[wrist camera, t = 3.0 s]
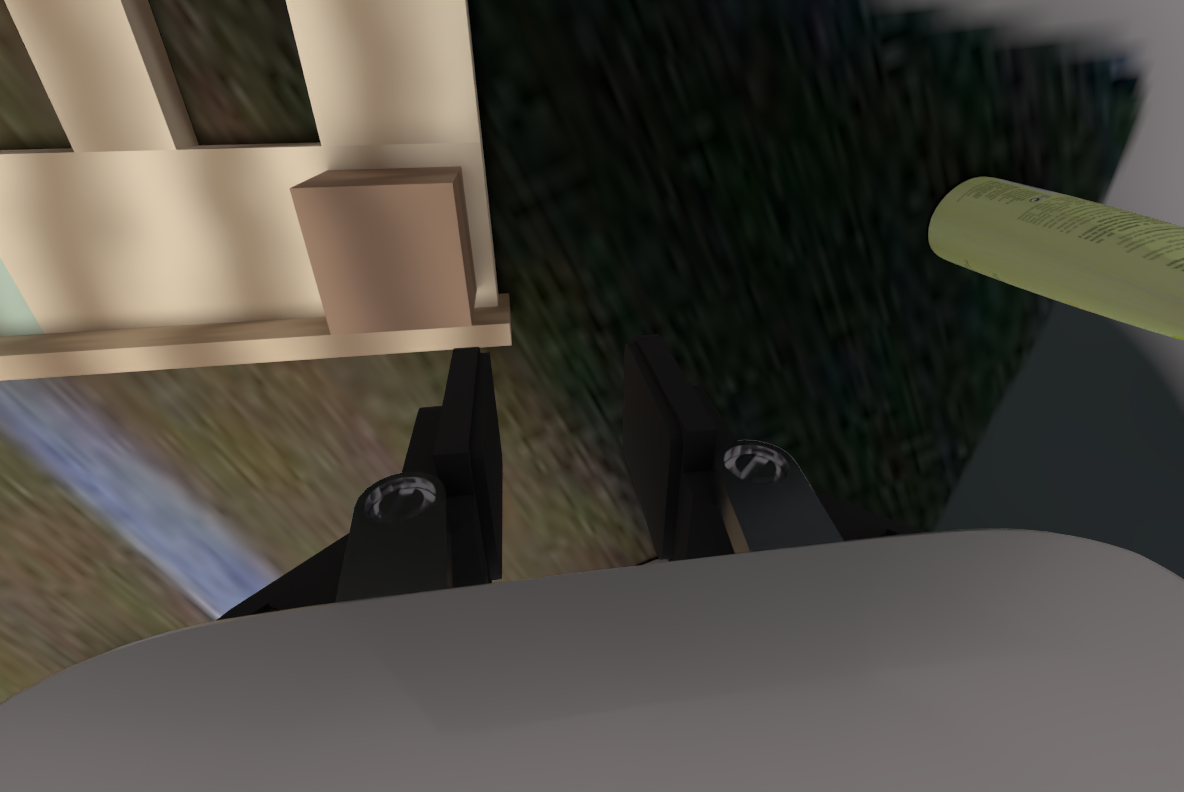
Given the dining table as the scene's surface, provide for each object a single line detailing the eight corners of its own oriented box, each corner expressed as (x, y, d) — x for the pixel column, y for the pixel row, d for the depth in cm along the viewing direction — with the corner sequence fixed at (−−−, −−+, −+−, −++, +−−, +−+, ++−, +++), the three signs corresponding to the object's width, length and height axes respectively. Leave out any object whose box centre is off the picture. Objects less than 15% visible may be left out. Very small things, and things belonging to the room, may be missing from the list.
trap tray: (479, -14, 23) (474, -34, 19) (510, 312, 31) (511, 345, 27) (-332, -21, 20) (-534, -47, 16) (-69, 348, 27) (-163, 391, 24)
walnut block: (461, 166, 25) (452, 182, 21) (476, 289, 28) (471, 326, 24) (327, 170, 24) (289, 188, 20) (358, 296, 27) (330, 335, 23)
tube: (934, 282, 34) (1350, 473, 17) (902, 225, 32) (1346, 380, 15) (1016, 219, 32) (1557, 358, 16) (988, 153, 30) (1587, 237, 14)
